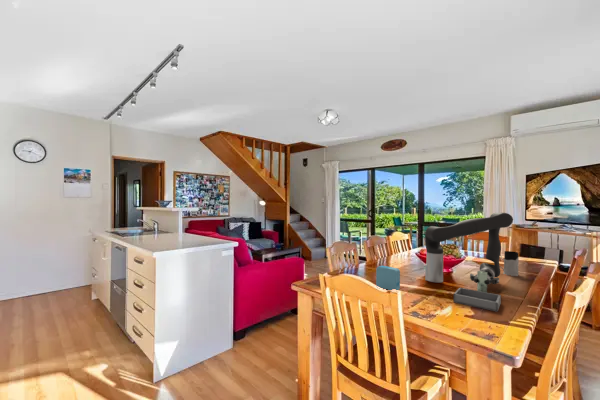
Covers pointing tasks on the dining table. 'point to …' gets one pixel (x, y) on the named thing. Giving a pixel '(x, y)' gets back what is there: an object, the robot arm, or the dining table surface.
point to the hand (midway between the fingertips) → (481, 281)
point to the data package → (388, 277)
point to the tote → (477, 299)
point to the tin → (481, 281)
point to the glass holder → (510, 263)
